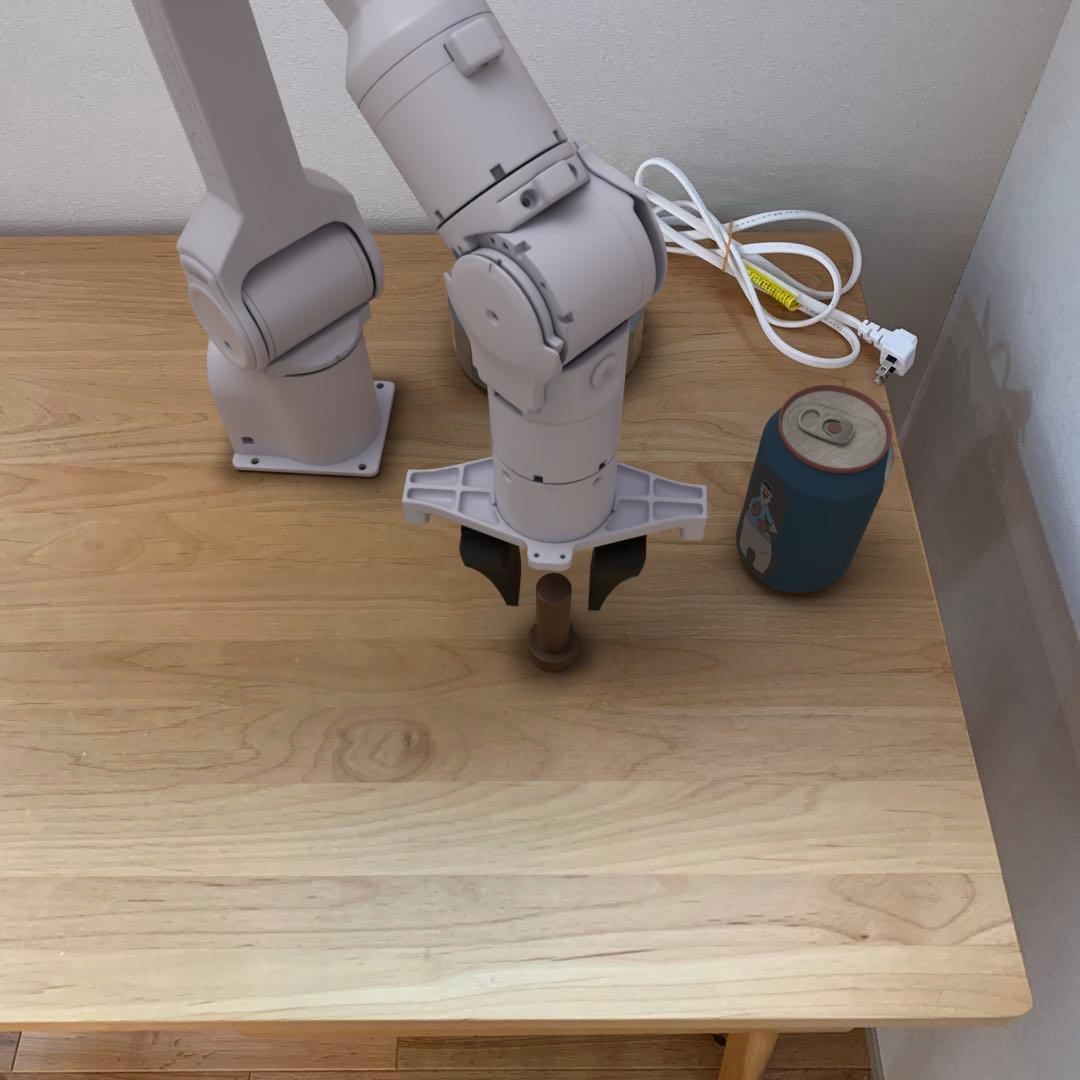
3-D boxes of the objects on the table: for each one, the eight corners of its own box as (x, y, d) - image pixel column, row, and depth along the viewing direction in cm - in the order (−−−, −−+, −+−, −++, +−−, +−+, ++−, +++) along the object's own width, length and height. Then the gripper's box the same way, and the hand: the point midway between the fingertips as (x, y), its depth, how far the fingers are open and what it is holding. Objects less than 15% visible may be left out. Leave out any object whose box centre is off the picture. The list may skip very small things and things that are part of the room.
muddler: (518, 651, 59) (514, 591, 51) (549, 616, 60) (550, 552, 52) (555, 681, 58) (557, 625, 50) (587, 646, 59) (593, 585, 51)
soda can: (864, 536, 63) (922, 406, 53) (822, 621, 60) (877, 499, 50) (759, 492, 65) (797, 358, 55) (714, 572, 62) (745, 444, 52)
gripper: (378, 497, 43) (413, 648, 55) (722, 516, 43) (686, 665, 54) (403, 374, 47) (431, 539, 59) (718, 390, 47) (685, 554, 58)
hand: (554, 592), depth 57 cm, fingers open, 4 cm apart
